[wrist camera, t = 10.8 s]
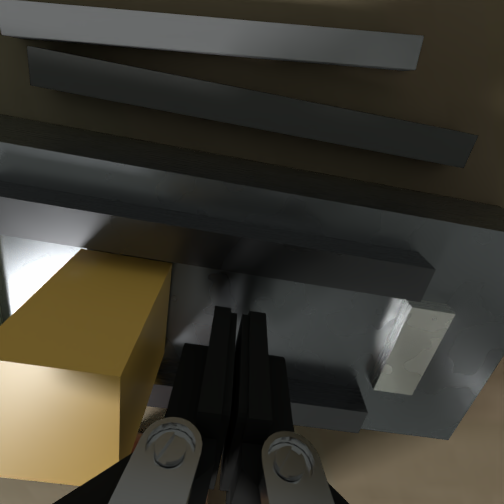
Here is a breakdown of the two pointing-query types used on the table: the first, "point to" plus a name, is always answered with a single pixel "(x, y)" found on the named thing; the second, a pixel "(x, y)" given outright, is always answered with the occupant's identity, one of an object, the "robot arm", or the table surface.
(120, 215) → the slider track
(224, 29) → the grey square bar
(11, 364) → the yellow block
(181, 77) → the dark grey long bar
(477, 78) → the table surface
